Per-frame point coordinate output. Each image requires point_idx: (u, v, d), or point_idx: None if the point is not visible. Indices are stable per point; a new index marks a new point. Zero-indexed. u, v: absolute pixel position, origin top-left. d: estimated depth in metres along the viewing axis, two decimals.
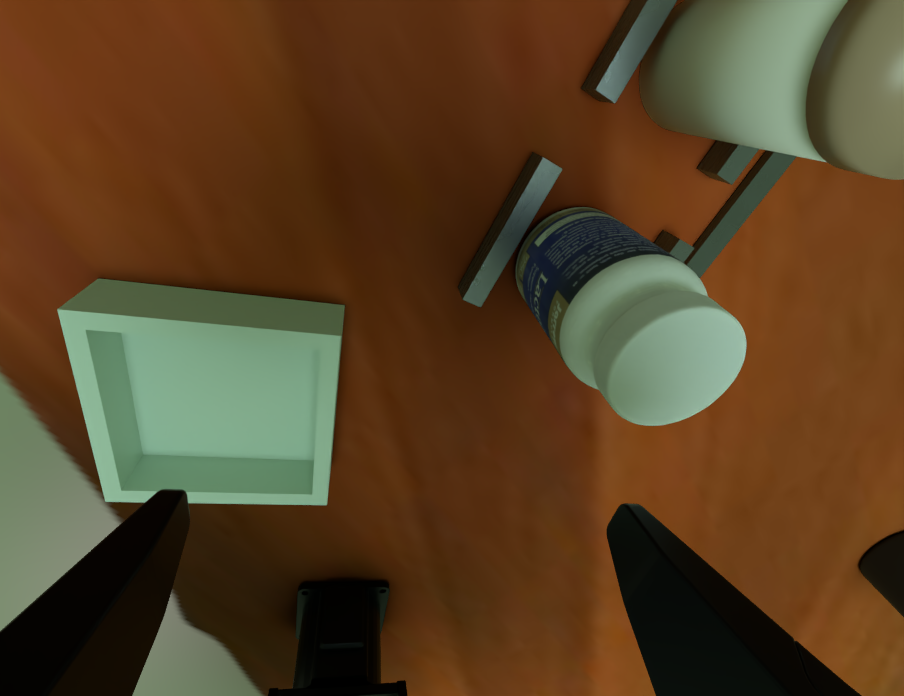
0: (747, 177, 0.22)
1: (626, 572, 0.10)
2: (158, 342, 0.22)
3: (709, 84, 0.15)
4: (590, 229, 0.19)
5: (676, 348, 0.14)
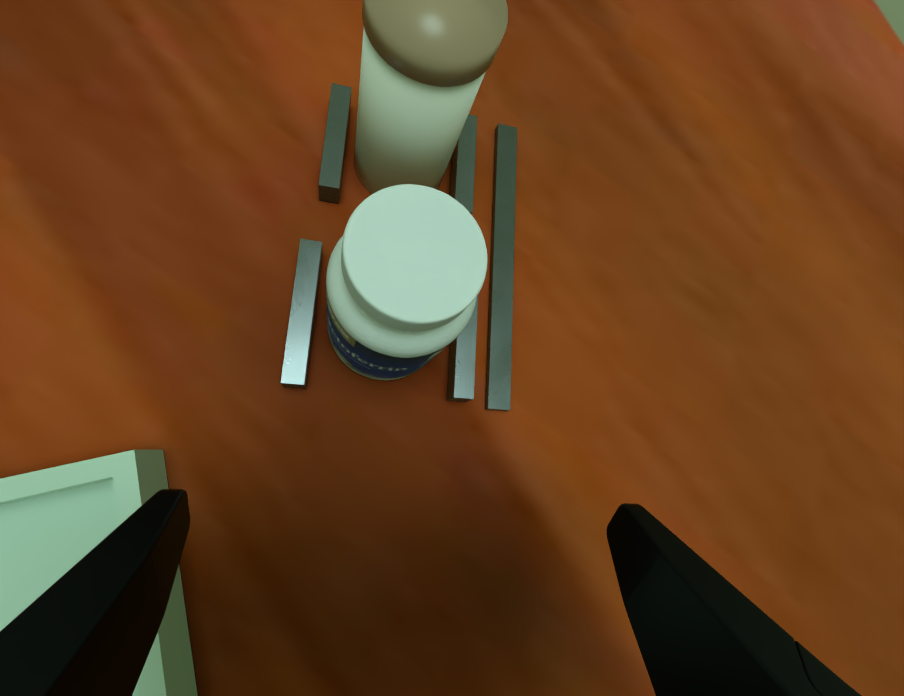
0: (492, 215, 0.27)
1: (626, 572, 0.10)
2: None
3: (369, 126, 0.21)
4: None
5: (399, 227, 0.14)
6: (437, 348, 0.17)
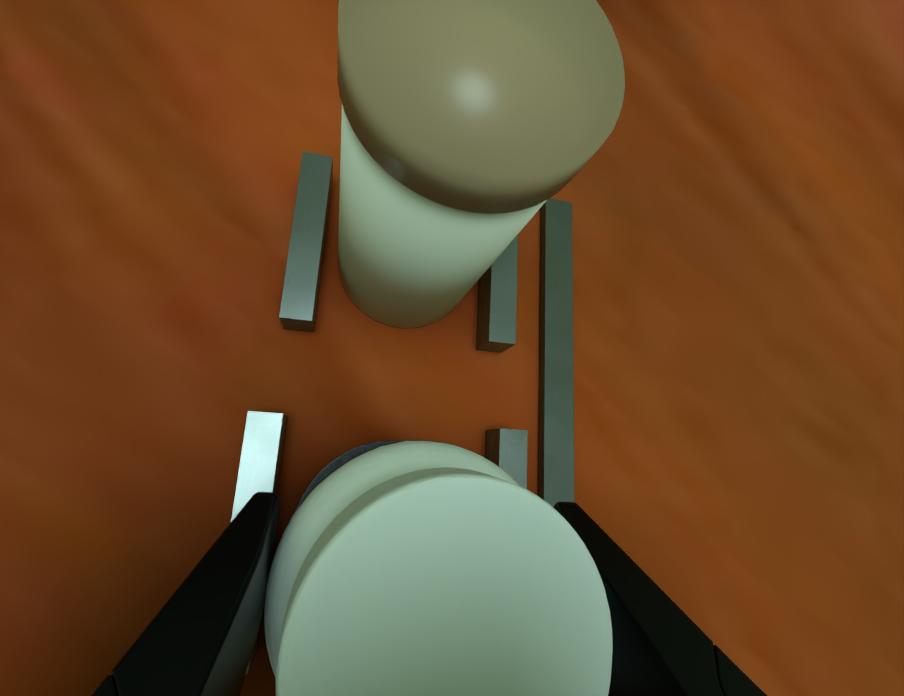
0: (540, 335, 0.18)
1: None
2: None
3: (356, 243, 0.12)
4: (329, 466, 0.12)
5: (415, 600, 0.06)
6: None
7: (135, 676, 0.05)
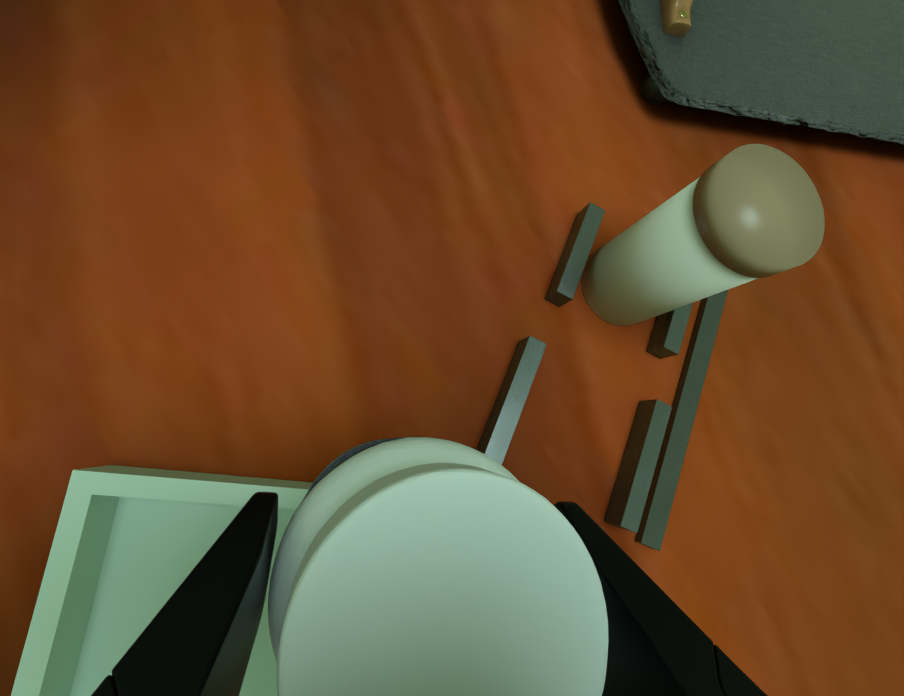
0: (687, 357, 0.28)
1: None
2: (150, 537, 0.19)
3: (634, 266, 0.22)
4: (333, 463, 0.12)
5: (413, 591, 0.06)
6: None
7: (135, 676, 0.05)
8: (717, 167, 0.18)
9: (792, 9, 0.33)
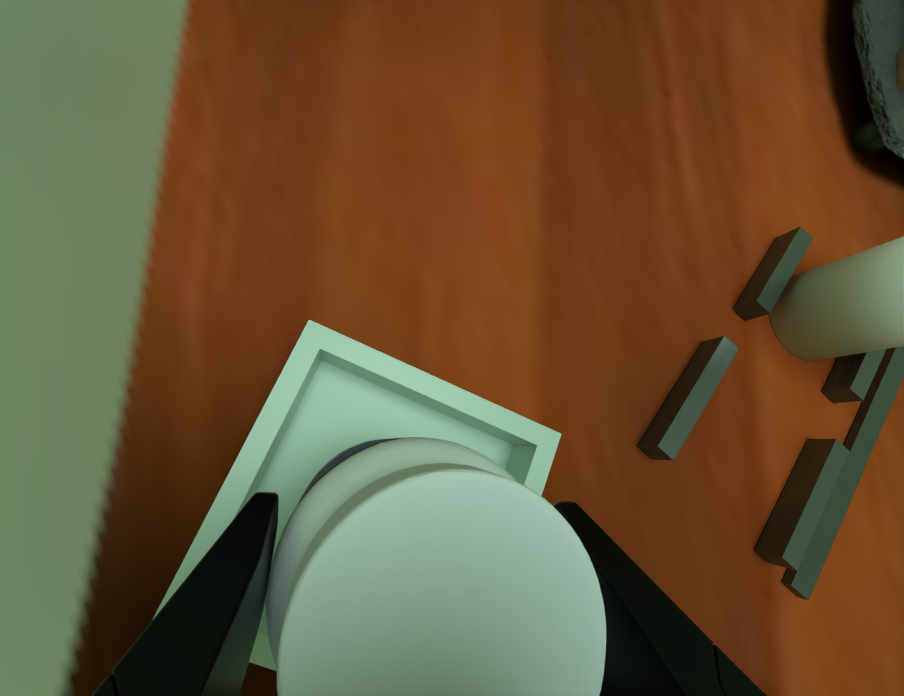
0: (861, 409, 0.26)
1: None
2: (335, 417, 0.19)
3: (862, 289, 0.22)
4: (331, 463, 0.12)
5: (413, 591, 0.06)
6: None
7: (135, 676, 0.05)
8: None
9: None
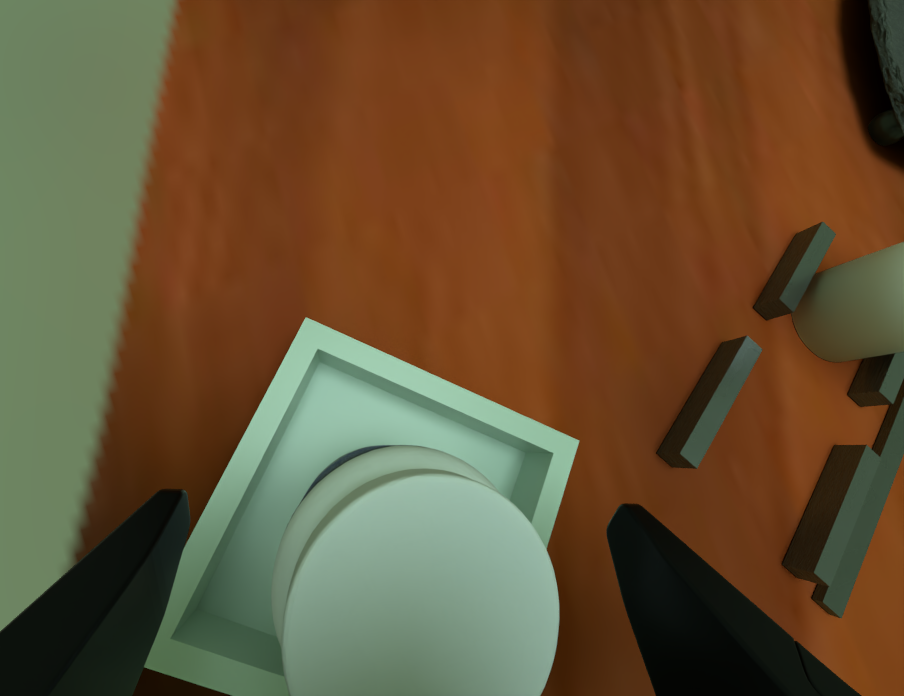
0: (889, 413, 0.25)
1: (626, 572, 0.10)
2: (334, 423, 0.17)
3: (894, 286, 0.20)
4: (330, 467, 0.14)
5: (394, 576, 0.07)
6: None
7: None
8: None
9: None
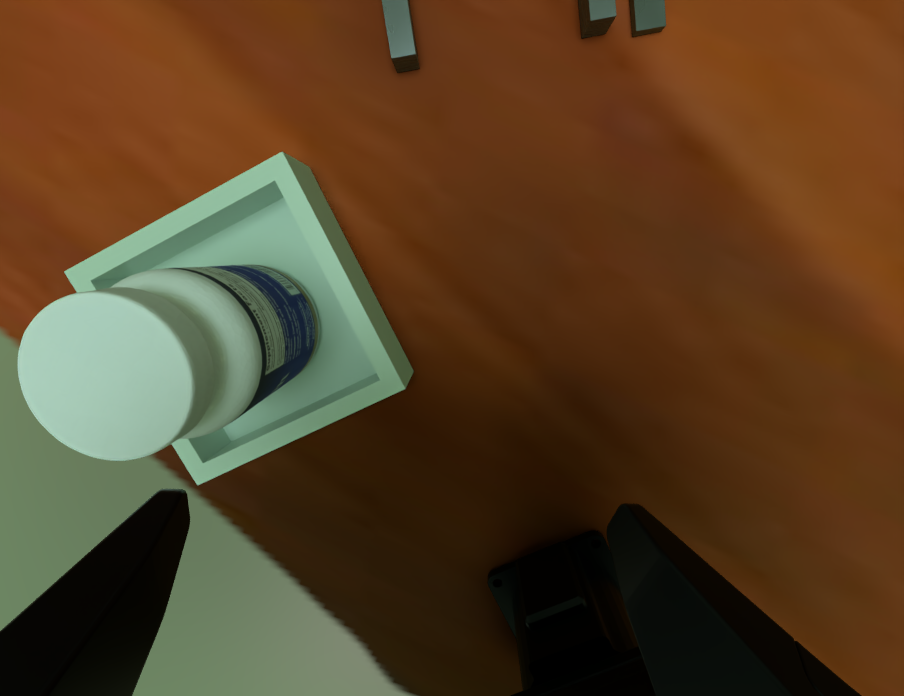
0: None
1: (626, 572, 0.10)
2: None
3: None
4: None
5: (68, 379, 0.12)
6: (254, 380, 0.15)
7: None
8: None
9: None
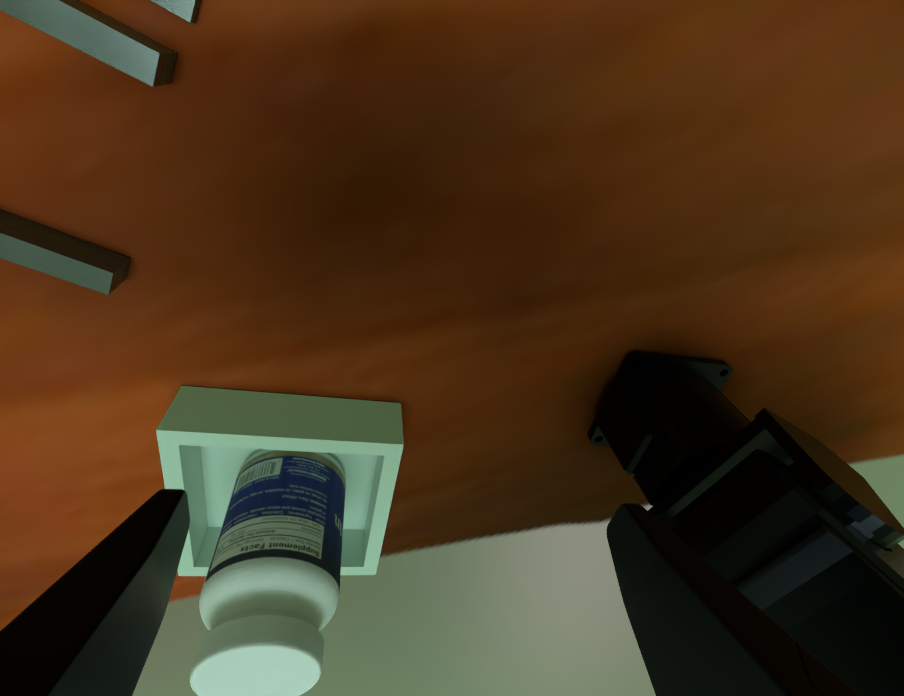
0: None
1: (626, 572, 0.10)
2: None
3: None
4: None
5: (245, 691, 0.18)
6: (318, 575, 0.19)
7: None
8: None
9: None
